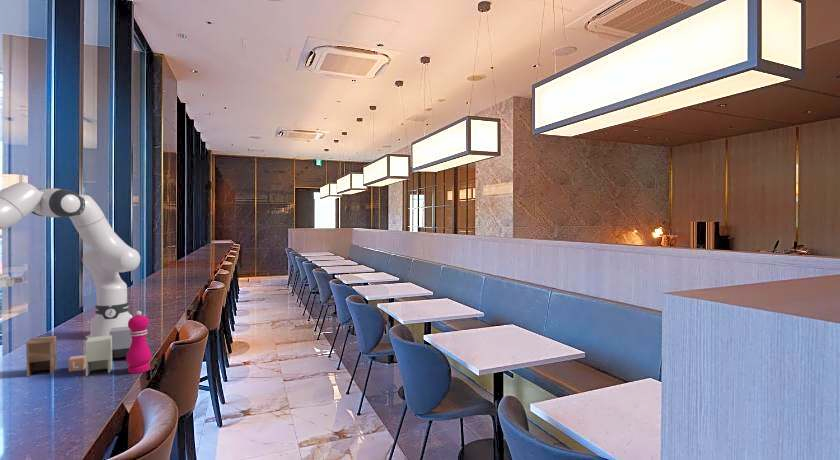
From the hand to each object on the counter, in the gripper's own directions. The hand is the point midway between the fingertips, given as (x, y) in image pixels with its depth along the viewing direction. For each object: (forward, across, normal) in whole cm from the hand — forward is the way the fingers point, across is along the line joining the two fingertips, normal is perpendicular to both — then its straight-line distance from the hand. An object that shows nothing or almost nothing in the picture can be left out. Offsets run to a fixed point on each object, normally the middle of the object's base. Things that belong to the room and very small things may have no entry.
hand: (18, 281), depth 149 cm
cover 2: (+28, +1, +30) cm, 41 cm away
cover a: (+7, -4, +30) cm, 31 cm away
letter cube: (+16, -5, +30) cm, 34 cm away
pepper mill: (+35, -17, +30) cm, 49 cm away
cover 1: (+23, -12, +30) cm, 40 cm away
